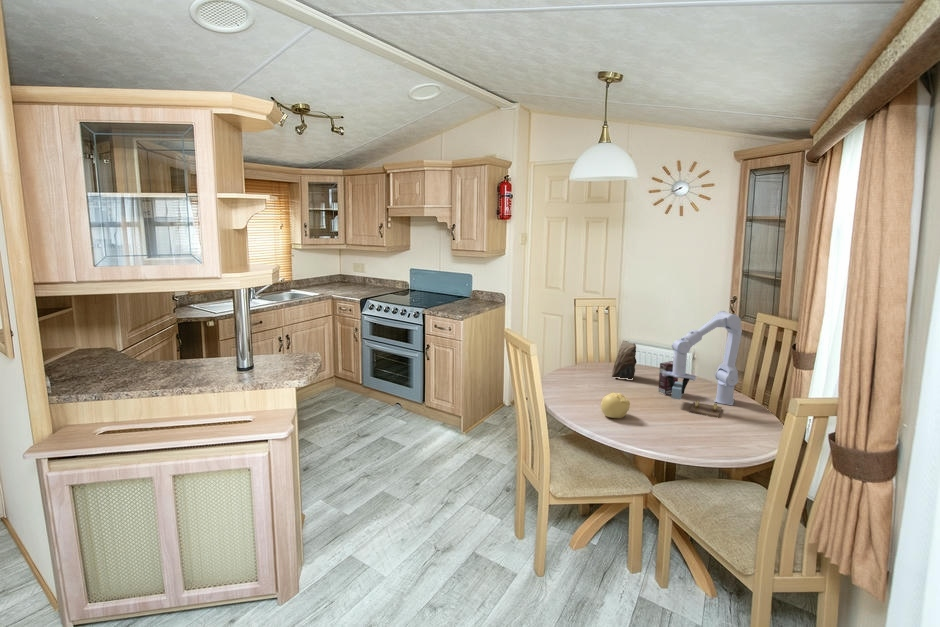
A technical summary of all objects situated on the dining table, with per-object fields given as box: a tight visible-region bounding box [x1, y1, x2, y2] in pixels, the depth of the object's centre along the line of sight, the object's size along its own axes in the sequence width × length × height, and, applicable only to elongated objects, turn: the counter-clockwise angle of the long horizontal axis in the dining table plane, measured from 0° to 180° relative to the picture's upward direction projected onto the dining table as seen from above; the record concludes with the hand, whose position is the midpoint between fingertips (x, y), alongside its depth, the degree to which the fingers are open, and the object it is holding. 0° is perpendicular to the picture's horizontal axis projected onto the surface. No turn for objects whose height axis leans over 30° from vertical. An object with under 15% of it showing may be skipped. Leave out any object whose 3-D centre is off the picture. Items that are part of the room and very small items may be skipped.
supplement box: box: [657, 360, 679, 396], centre depth 254 cm, size 9×5×16 cm, turn 115°
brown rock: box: [611, 339, 637, 379], centre depth 278 cm, size 13×13×20 cm
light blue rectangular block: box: [670, 381, 683, 401], centre depth 239 cm, size 11×4×5 cm, turn 151°
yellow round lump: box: [600, 392, 631, 419], centre depth 226 cm, size 11×12×11 cm
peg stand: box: [689, 400, 723, 418], centre depth 232 cm, size 12×12×4 cm
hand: (677, 392), depth 239 cm, fingers closed on light blue rectangular block, 4 cm apart
